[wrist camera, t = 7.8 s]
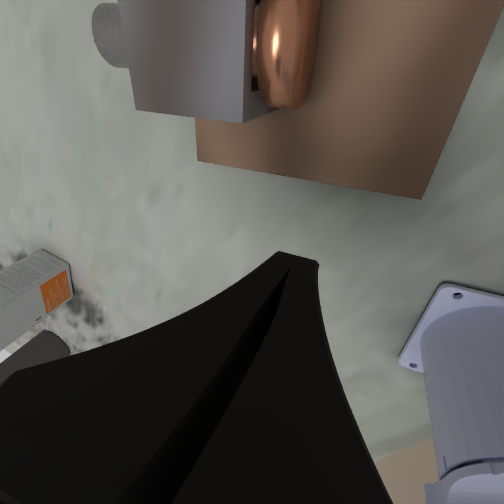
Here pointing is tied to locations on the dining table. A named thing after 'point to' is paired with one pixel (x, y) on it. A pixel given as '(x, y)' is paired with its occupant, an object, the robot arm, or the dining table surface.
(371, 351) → the dining table surface
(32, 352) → the bottle
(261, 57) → the shaft
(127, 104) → the dining table surface
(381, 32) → the stand
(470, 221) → the dining table surface
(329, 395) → the robot arm
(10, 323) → the skincare box
